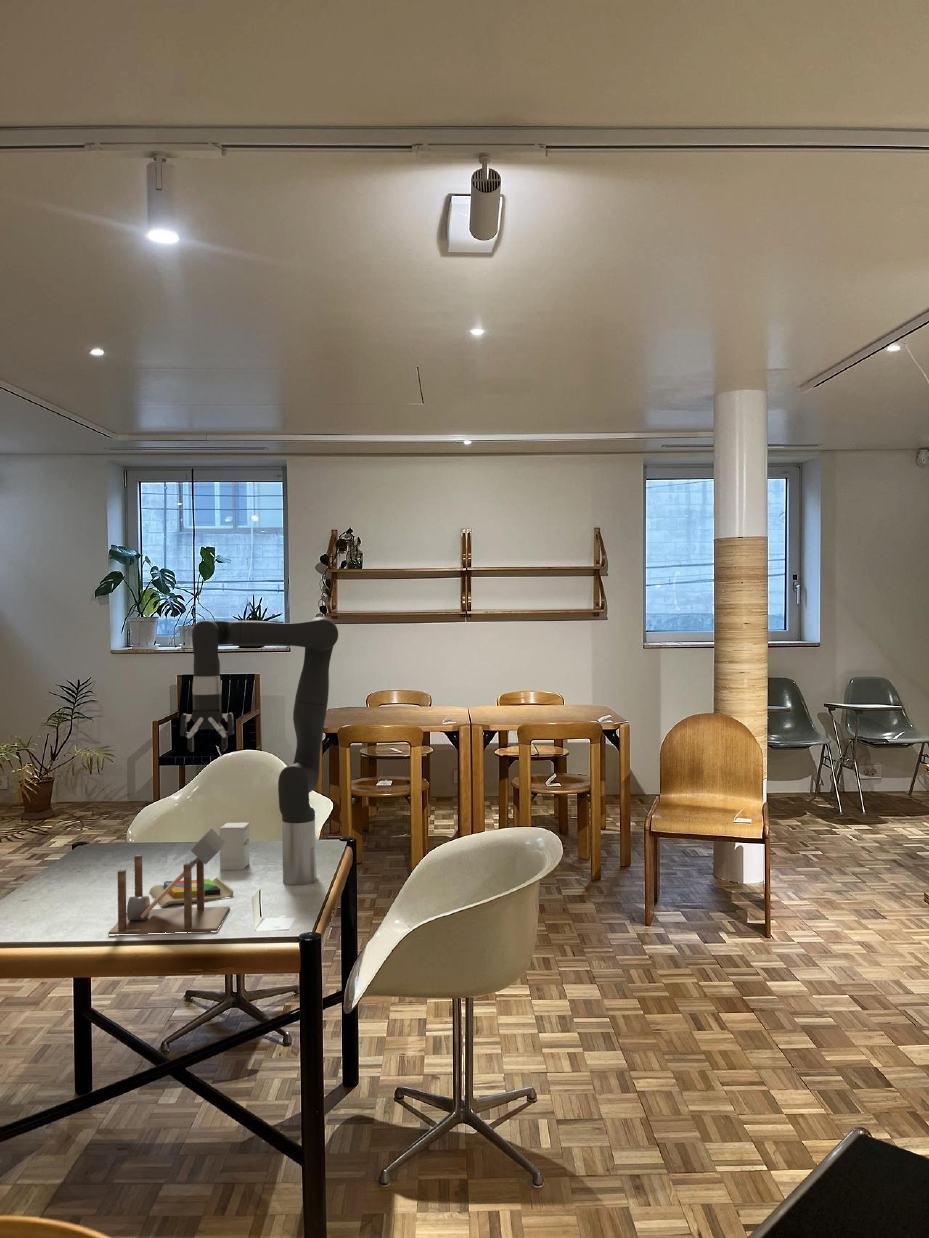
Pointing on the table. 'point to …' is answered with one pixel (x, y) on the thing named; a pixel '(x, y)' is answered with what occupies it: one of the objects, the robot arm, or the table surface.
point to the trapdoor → (195, 860)
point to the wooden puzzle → (176, 894)
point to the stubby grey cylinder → (137, 908)
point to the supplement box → (234, 846)
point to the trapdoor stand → (173, 917)
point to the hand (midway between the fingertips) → (207, 751)
